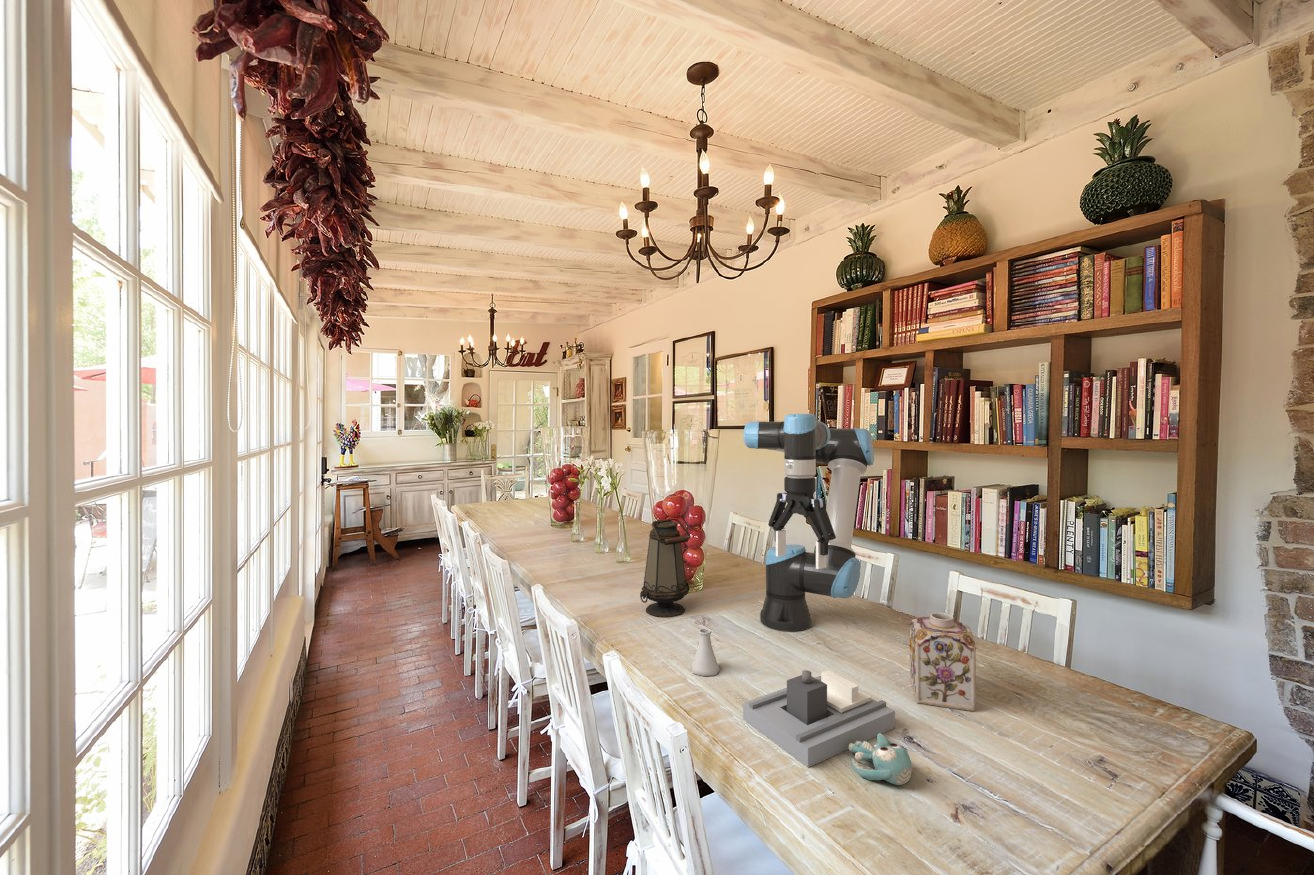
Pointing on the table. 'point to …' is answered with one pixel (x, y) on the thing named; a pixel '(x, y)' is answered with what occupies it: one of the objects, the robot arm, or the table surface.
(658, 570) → the lantern
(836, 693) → the white finned plate
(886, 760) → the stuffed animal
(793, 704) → the plug
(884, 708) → the grey railed block
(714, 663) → the flask
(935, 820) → the table surface
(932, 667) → the decorative jar
